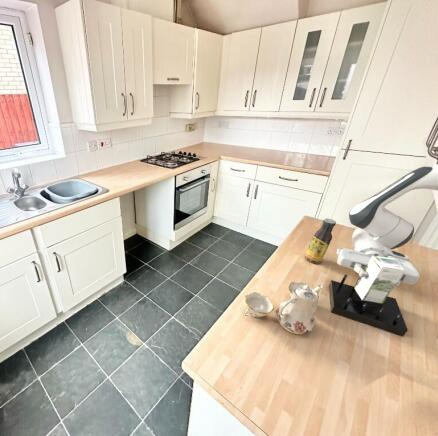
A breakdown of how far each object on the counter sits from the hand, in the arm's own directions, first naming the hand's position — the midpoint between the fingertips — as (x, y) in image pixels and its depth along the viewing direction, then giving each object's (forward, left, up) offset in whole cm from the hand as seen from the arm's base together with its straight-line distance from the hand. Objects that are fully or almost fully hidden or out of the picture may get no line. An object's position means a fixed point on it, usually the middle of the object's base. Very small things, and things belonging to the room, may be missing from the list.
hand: (379, 279), depth 75 cm
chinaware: (+22, +15, -14) cm, 30 cm away
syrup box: (0, -1, -8) cm, 8 cm away
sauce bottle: (+14, -23, -14) cm, 30 cm away
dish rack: (0, -1, -13) cm, 14 cm away
